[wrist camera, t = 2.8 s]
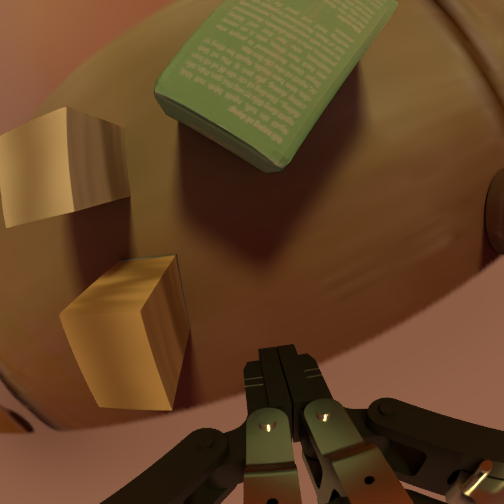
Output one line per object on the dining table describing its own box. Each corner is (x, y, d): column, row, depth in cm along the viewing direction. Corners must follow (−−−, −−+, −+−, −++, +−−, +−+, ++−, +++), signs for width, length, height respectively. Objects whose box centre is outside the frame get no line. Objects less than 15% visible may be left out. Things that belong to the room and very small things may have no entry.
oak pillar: (176, 253, 20) (140, 311, 11) (190, 327, 22) (172, 410, 13) (119, 260, 20) (58, 314, 11) (137, 331, 22) (99, 406, 13)
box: (173, 122, 18) (142, 94, 11) (276, -6, 15) (295, -64, 8) (263, 176, 19) (284, 177, 12) (356, 42, 17) (404, 1, 10)
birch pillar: (123, 127, 17) (66, 106, 10) (130, 196, 19) (74, 211, 11) (66, 143, 17) (-2, 137, 10) (73, 207, 19) (6, 228, 11)
